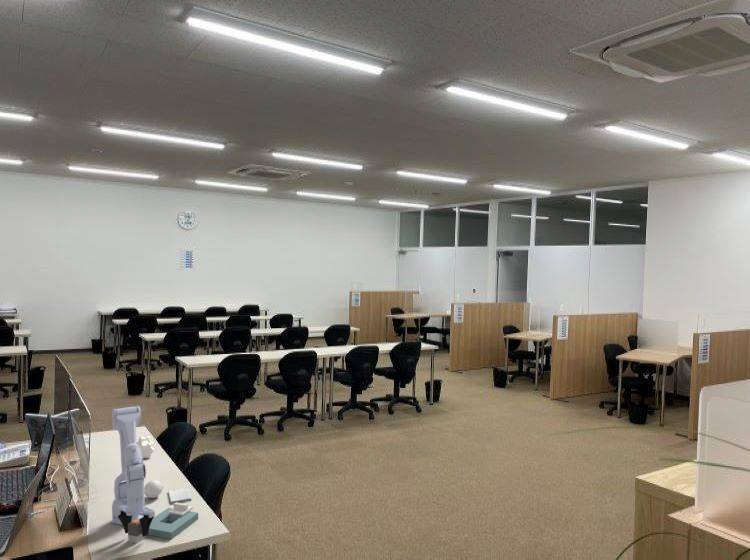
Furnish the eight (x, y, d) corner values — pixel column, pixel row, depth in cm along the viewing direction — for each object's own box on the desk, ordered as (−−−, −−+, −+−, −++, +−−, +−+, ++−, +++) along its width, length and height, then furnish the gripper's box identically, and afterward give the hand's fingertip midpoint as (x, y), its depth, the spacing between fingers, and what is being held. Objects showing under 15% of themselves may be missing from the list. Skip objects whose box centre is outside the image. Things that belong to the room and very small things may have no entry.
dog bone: (135, 451, 287) (135, 436, 286) (153, 448, 290) (152, 434, 290) (136, 461, 273) (136, 445, 273) (154, 458, 277) (154, 442, 277)
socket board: (140, 533, 201) (139, 526, 201) (168, 513, 217) (168, 507, 216) (171, 539, 197) (171, 532, 197) (198, 518, 212) (198, 512, 212)
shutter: (168, 513, 211) (168, 506, 211) (179, 506, 217) (179, 499, 217) (182, 515, 209) (182, 508, 209) (192, 508, 215) (192, 501, 215)
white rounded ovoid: (156, 502, 227) (155, 484, 227) (140, 500, 229) (140, 483, 228) (169, 492, 237) (169, 475, 237) (154, 490, 238) (154, 474, 238)
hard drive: (191, 498, 229) (187, 486, 240) (170, 501, 225) (168, 490, 236) (191, 502, 229) (187, 490, 240) (170, 505, 225) (168, 493, 236)
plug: (128, 541, 196) (127, 522, 195) (136, 536, 199) (135, 517, 199) (137, 543, 194) (136, 524, 194) (145, 537, 198) (144, 519, 198)
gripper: (111, 498, 195) (112, 536, 195) (144, 504, 190) (145, 542, 191) (125, 490, 201) (126, 526, 202) (158, 495, 197) (159, 532, 198)
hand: (136, 533), depth 197 cm, fingers open, 7 cm apart
